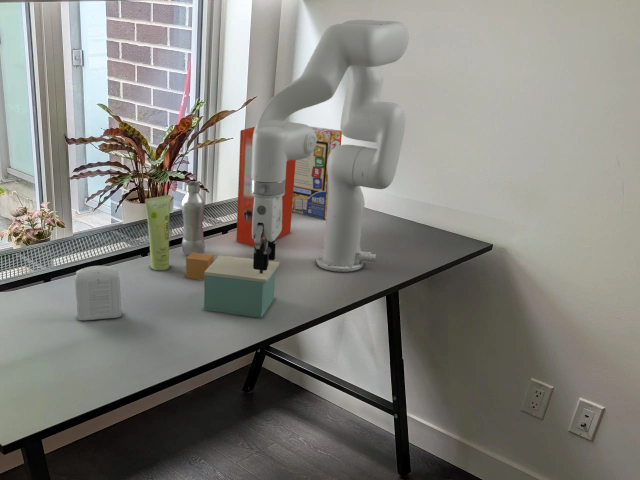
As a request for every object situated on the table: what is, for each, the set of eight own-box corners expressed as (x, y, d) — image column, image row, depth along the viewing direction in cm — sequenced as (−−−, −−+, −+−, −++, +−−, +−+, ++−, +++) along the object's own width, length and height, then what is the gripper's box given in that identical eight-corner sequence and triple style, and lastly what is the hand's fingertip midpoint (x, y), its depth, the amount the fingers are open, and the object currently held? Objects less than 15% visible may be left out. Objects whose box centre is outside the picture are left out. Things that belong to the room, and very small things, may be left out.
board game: (335, 216, 239) (343, 130, 226) (324, 220, 235) (332, 133, 222) (285, 204, 251) (290, 122, 238) (273, 208, 247) (278, 124, 234)
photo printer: (120, 311, 173) (117, 261, 167) (122, 318, 170) (120, 268, 164) (76, 315, 171) (72, 265, 165) (78, 322, 168) (74, 271, 162)
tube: (164, 272, 195) (163, 200, 185) (147, 270, 197) (144, 198, 187) (171, 265, 200) (170, 194, 190) (154, 263, 201) (152, 192, 192)
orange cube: (213, 274, 194) (213, 254, 191) (207, 280, 190) (207, 260, 187) (192, 271, 196) (192, 252, 193) (186, 278, 192) (185, 258, 189)
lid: (279, 265, 175) (280, 243, 172) (266, 282, 165) (267, 260, 162) (219, 258, 179) (220, 236, 176) (204, 275, 169) (204, 252, 167)
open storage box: (273, 298, 179) (275, 264, 175) (261, 318, 169) (263, 282, 165) (219, 291, 183) (219, 258, 179) (204, 310, 174) (204, 275, 169)
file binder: (291, 233, 224) (298, 124, 208) (258, 247, 212) (263, 133, 196) (269, 228, 228) (274, 121, 212) (236, 242, 217) (239, 130, 201)
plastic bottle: (196, 260, 203) (195, 188, 193) (176, 255, 207) (175, 184, 197) (209, 253, 208) (210, 183, 198) (190, 249, 211) (190, 179, 201)
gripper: (275, 198, 152) (270, 279, 161) (293, 179, 167) (288, 254, 175) (240, 195, 155) (238, 275, 163) (261, 176, 169) (258, 250, 178)
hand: (264, 263), depth 169 cm, fingers open, 6 cm apart
